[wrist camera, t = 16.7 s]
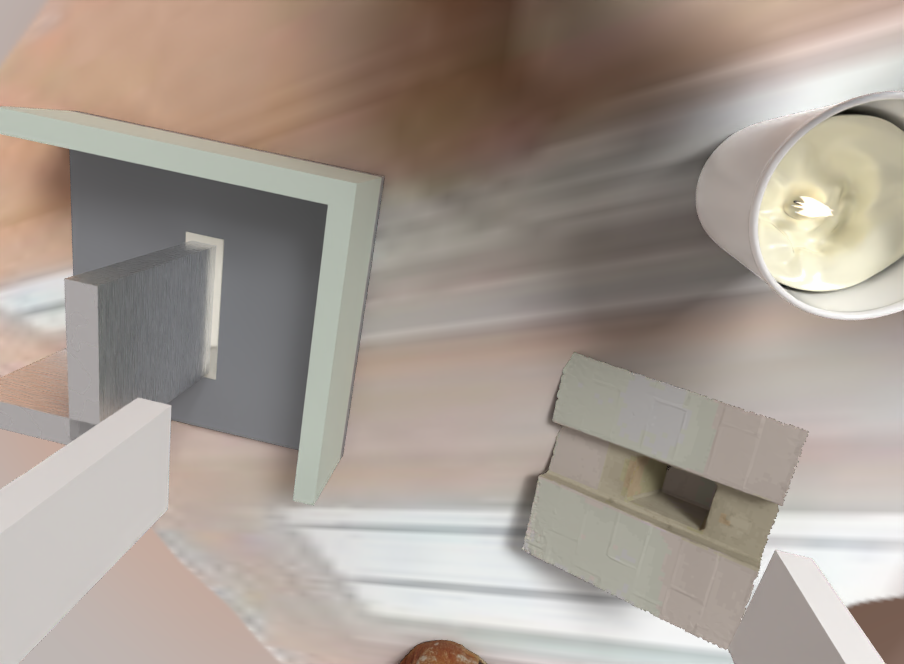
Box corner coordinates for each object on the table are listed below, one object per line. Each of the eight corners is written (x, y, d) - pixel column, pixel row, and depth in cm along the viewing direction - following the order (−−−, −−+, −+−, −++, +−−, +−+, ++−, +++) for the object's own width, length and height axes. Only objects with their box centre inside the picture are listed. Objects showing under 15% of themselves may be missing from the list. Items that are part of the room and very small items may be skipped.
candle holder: (649, 207, 37) (703, 236, 26) (762, 72, 34) (881, 37, 23) (763, 296, 38) (864, 361, 27) (884, 172, 35) (1057, 187, 24)
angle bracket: (209, 372, 44) (100, 453, 33) (110, 349, 44) (-32, 420, 33) (216, 245, 41) (97, 286, 29) (109, 221, 41) (-49, 252, 30)
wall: (579, 529, 50) (757, 638, 40) (517, 554, 44) (708, 690, 34) (627, 349, 47) (833, 416, 37) (567, 349, 41) (794, 430, 31)
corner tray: (76, 111, 40) (-10, 105, 33) (384, 176, 38) (356, 183, 32) (84, 393, 47) (14, 433, 40) (343, 454, 46) (313, 505, 39)
